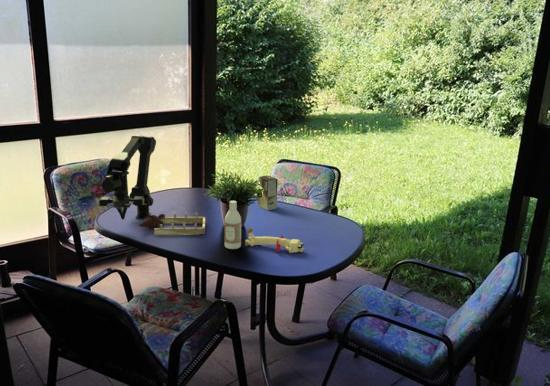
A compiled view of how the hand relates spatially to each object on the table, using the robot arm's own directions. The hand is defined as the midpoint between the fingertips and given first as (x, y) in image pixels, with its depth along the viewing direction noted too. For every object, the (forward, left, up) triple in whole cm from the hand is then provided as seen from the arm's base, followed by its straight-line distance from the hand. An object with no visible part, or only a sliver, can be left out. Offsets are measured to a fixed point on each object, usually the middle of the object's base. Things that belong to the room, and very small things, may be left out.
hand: (123, 219), depth 220 cm
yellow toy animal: (+24, +66, -5) cm, 71 cm away
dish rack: (0, +25, -5) cm, 26 cm away
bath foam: (+21, +48, -5) cm, 53 cm away
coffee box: (-29, +68, -5) cm, 74 cm away
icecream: (0, +13, -5) cm, 14 cm away
